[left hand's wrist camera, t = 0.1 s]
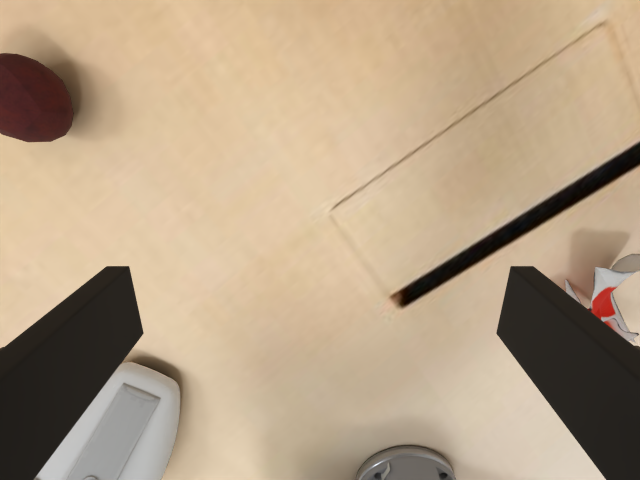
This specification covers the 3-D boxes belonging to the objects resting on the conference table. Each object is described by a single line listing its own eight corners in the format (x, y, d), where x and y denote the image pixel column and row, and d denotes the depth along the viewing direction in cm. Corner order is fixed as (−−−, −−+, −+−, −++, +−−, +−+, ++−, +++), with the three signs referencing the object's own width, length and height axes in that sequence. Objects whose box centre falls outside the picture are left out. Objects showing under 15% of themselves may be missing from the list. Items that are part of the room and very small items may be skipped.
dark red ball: (46, 41, 34) (-19, 28, 28) (106, 113, 37) (59, 116, 30) (-5, 88, 36) (-77, 85, 29) (56, 154, 38) (1, 165, 32)
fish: (499, 299, 39) (601, 357, 32) (585, 214, 43) (696, 248, 35) (505, 349, 46) (591, 407, 38) (579, 272, 49) (671, 311, 42)
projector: (229, 460, 55) (199, 580, 41) (95, 491, 57) (26, 613, 44) (163, 346, 47) (100, 447, 34) (13, 387, 50) (-103, 496, 36)
